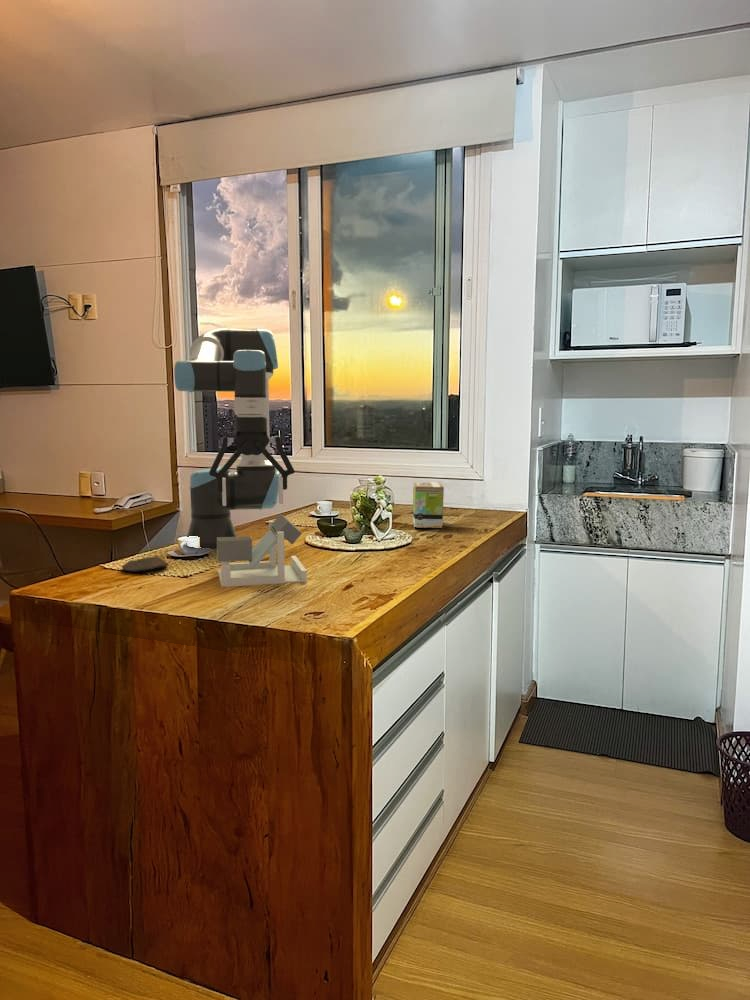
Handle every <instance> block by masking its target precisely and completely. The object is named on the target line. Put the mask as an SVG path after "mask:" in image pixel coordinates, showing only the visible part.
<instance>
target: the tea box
mask: <svg viewBox="0 0 750 1000" xmlns="http://www.w3.org/2000/svg"><path fill="white" fill-rule="evenodd" d="M412 490H413V491H412V495H413V496H412V501H413V502H412V523H414V524H413V528H414V527H434V526H443V524H444V494H445V493H444V491H445V489H444V486H443V484H442V483H441V482H433V481H418V482H417V481H415V482H413V489H412Z"/></svg>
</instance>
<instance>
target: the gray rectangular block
mask: <svg viewBox="0 0 750 1000" xmlns="http://www.w3.org/2000/svg"><path fill="white" fill-rule="evenodd" d="M252 548H253V540H252V537H251V536H250V535H247V536H246V535H245V536H244V535H243V536H237V537H217V549H216V559H217V562H219V563H220V562H223V561H229V562H237V561H238V562H241V561H243V562H244V561H245V562H247V561H249V560H252Z"/></svg>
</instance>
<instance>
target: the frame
mask: <svg viewBox="0 0 750 1000" xmlns="http://www.w3.org/2000/svg"><path fill="white" fill-rule="evenodd" d="M274 521H275V520H268V531H269V530H270V529H271V530H272V531H273V532H274V534H275V535H276V536H277V543H276V544H275V545H274V546H273V548H272V549H271V550H270V551H269V560H266V561H265V560H264V561H262V560H261V561H260V562H259V563H258V564H257V565H256V567H255V568H254V569H253V568H252V567H251V565H250V563H249V561H245V562H244V561H243V562H230V561H223V562H221V568H220V569H217V573H218V579H219V582H220V587H222V588H229V587H241V586H259V585H260V586H261V585H273V584H276V585H277V584H287V583H301V582H302V583H306V582H308V581H307V580H308V576H307V573H308V572H307V571H308V570H307V569H306V567H304V565H303V564H302V562H301V561H300V559H299V558H298V557H297V556H296V555H291V556H290V565H285V538H284V532H283V531H280V532H277V530H276V529H275V528H274V526H273V525H272V523H273V522H274Z"/></svg>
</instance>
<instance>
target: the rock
mask: <svg viewBox="0 0 750 1000" xmlns="http://www.w3.org/2000/svg"><path fill="white" fill-rule="evenodd" d="M168 566H169V563H168V562H166V561H165V560H164V558H162V557H159V556H157V555H156V556H151V557H150V556H148V557H142V558H139V559H135V560H134V559H133V560H130V561H127V562H126V563H125V564H123V565H121V568H122V569H123V570H125V571H128V572H141V571H150V570H154V569H159V568H162V569H163V568H167V567H168Z"/></svg>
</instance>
